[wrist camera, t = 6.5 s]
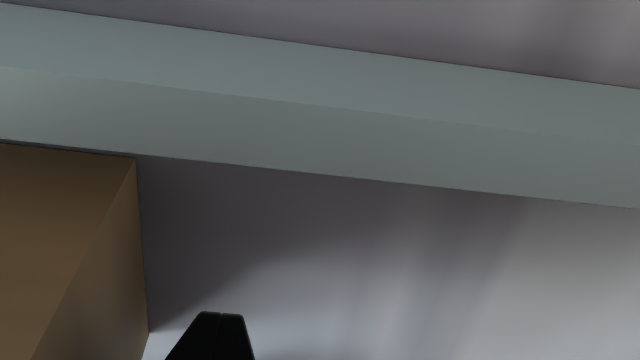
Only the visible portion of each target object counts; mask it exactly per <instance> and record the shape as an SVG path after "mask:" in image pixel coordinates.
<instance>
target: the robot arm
mask: <svg viewBox="0 0 640 360" xmlns="http://www.w3.org/2000/svg"><path fill="white" fill-rule="evenodd" d="M165 360H255V357H254V354H253V350H252V347H251V343H250V339H249V336H248V332H247V328H246V325H245V321H244V318H243V316H242V315H240V314H229V313H223V314H221V313H218V312H207V311H203V312H200V313H199V314H198V315H197V316H196V318H195V319H194V320H193V322H192V323H191V325H190V326H189V327H188V329H187V330H186V331H185V333H184V334H183V335H182V337H181V338H180V339H179V341H178V342H177V344H176V345H175V346H174V348H173V349H172V350H171V352H170V353H169V354H168V356H167V357H166V358H165Z"/></svg>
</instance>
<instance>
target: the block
mask: <svg viewBox="0 0 640 360" xmlns="http://www.w3.org/2000/svg"><path fill="white" fill-rule="evenodd" d="M148 336H149V329H148V316H147V303H146V290H145V277H144V265H143V252H142V239H141V226H140V213H139V200H138V187H137V174H136V161H135V158H127V157H118V156H109V155H100V154H92V153H83V152H74V151H65V150H56V149H48V148H39V147H30V146H21V145H12V144H4V143H0V360H141V359H142V356H143V352H144V349H145V346H146V343H147V340H148Z"/></svg>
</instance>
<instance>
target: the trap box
mask: <svg viewBox="0 0 640 360" xmlns="http://www.w3.org/2000/svg"><path fill="white" fill-rule="evenodd" d="M0 139H8V140H17V141H26V142H35V143H44V144H53V145H62V146H71V147H80V148H89V149H98V150H107V151H116V152H125V153H134V154H143V155H152V156H161V157H171V158H180V159H189V160H198V161H207V162H216V163H225V164H234V165H243V166H252V167H261V168H270V169H279V170H288V171H297V172H306V173H315V174H324V175H333V176H342V177H351V178H360V179H370V180H379V181H388V182H397V183H406V184H415V185H424V186H433V187H442V188H451V189H460V190H469V191H478V192H487V193H496V194H505V195H514V196H523V197H532V198H541V199H550V200H559V201H569V202H578V203H587V204H596V205H605V206H614V207H623V208H632V209H640V89H633V88H626V87H618V86H611V85H604V84H596V83H589V82H582V81H574V80H567V79H560V78H552V77H545V76H538V75H530V74H523V73H515V72H508V71H501V70H493V69H486V68H479V67H471V66H464V65H457V64H449V63H442V62H435V61H427V60H420V59H413V58H405V57H398V56H390V55H383V54H376V53H368V52H361V51H354V50H346V49H339V48H332V47H324V46H317V45H310V44H302V43H295V42H287V41H280V40H273V39H265V38H258V37H251V36H243V35H236V34H229V33H221V32H214V31H207V30H199V29H192V28H185V27H177V26H170V25H162V24H155V23H148V22H140V21H133V20H126V19H118V18H111V17H104V16H96V15H89V14H82V13H74V12H67V11H60V10H52V9H45V8H37V7H30V6H23V5H15V4H8V3H1V2H0Z"/></svg>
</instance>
